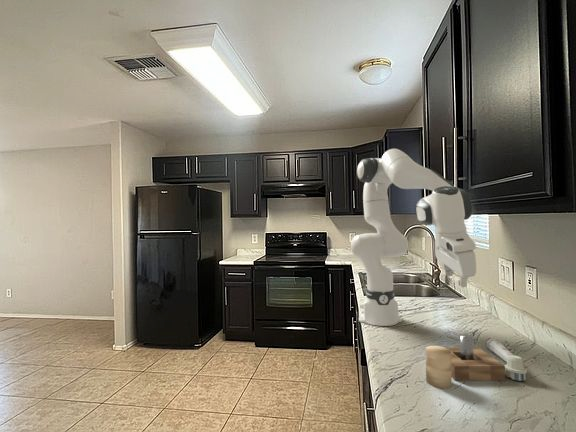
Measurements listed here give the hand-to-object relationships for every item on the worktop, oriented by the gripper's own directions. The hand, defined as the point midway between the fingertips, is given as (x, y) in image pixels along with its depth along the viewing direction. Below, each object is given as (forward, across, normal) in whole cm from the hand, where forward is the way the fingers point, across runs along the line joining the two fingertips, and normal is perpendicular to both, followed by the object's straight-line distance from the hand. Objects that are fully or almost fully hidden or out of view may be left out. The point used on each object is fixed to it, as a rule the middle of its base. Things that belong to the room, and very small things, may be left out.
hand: (455, 280), depth 108 cm
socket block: (+24, +9, -3) cm, 26 cm away
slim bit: (+24, +9, -3) cm, 26 cm away
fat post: (+21, +17, -15) cm, 31 cm away
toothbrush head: (+28, +5, +10) cm, 30 cm away
